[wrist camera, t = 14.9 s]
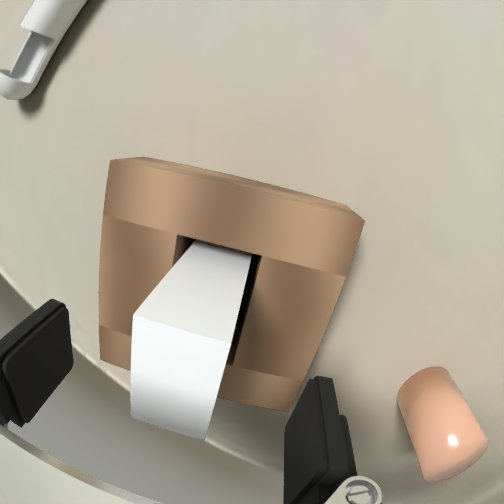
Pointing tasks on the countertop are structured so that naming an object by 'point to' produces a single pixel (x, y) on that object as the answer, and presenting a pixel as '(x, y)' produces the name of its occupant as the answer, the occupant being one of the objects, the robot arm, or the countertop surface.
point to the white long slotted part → (38, 45)
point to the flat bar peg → (186, 338)
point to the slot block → (234, 236)
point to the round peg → (440, 424)
